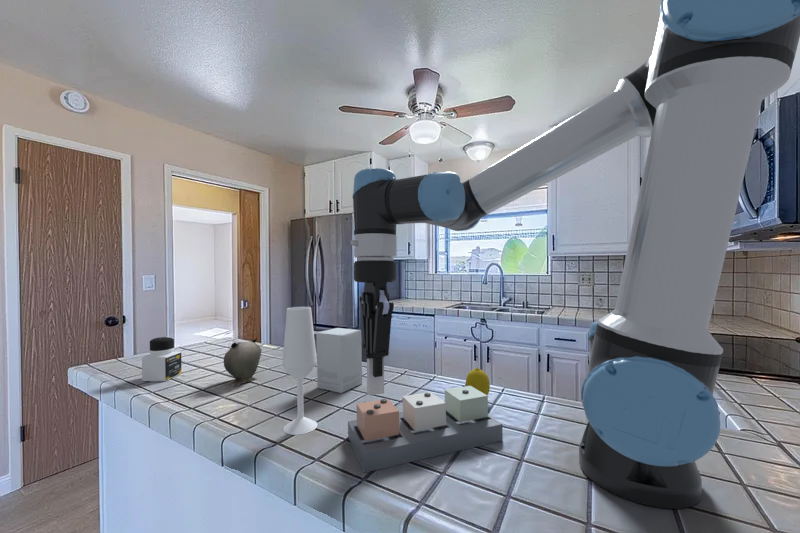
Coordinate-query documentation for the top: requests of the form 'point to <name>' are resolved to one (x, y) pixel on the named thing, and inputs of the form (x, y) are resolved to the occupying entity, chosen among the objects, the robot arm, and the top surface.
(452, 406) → the tile one
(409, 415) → the tile two
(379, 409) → the tile three
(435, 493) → the top surface
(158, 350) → the medicine bottle
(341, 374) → the supplement box
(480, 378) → the lemon
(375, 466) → the console
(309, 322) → the champagne flute
